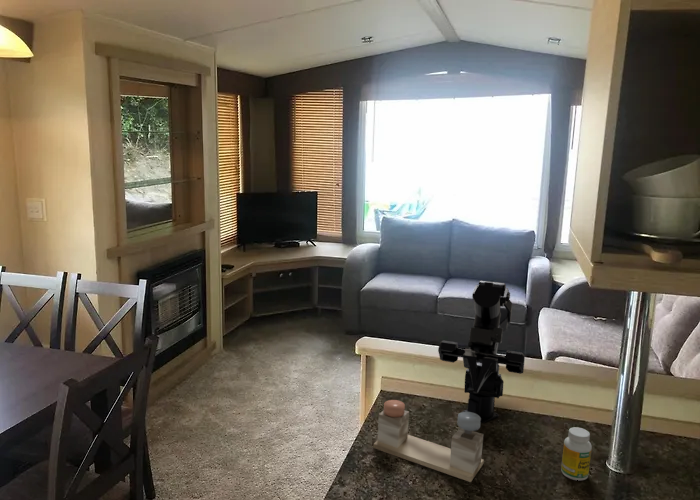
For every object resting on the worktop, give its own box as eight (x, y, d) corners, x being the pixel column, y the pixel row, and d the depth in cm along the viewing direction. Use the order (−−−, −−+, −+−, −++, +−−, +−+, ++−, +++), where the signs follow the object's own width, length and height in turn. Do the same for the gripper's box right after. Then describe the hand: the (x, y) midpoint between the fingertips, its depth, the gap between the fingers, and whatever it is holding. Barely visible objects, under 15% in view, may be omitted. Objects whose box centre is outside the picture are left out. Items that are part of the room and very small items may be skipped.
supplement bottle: (571, 463, 122) (576, 422, 120) (593, 476, 118) (599, 434, 116) (555, 471, 119) (560, 429, 117) (577, 484, 115) (583, 441, 113)
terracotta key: (389, 411, 129) (390, 398, 129) (407, 417, 127) (408, 403, 126) (379, 420, 126) (380, 405, 125) (398, 425, 123) (399, 411, 123)
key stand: (390, 432, 132) (391, 402, 131) (483, 463, 121) (486, 431, 119) (373, 447, 126) (374, 416, 124) (470, 482, 114) (473, 448, 113)
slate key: (461, 424, 120) (462, 409, 120) (482, 430, 118) (483, 415, 117) (453, 433, 117) (454, 418, 116) (474, 440, 114) (476, 424, 114)
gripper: (442, 306, 129) (429, 370, 120) (528, 317, 122) (520, 385, 114) (446, 329, 137) (434, 390, 129) (527, 341, 131) (519, 405, 123)
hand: (475, 392), depth 124 cm, fingers closed
